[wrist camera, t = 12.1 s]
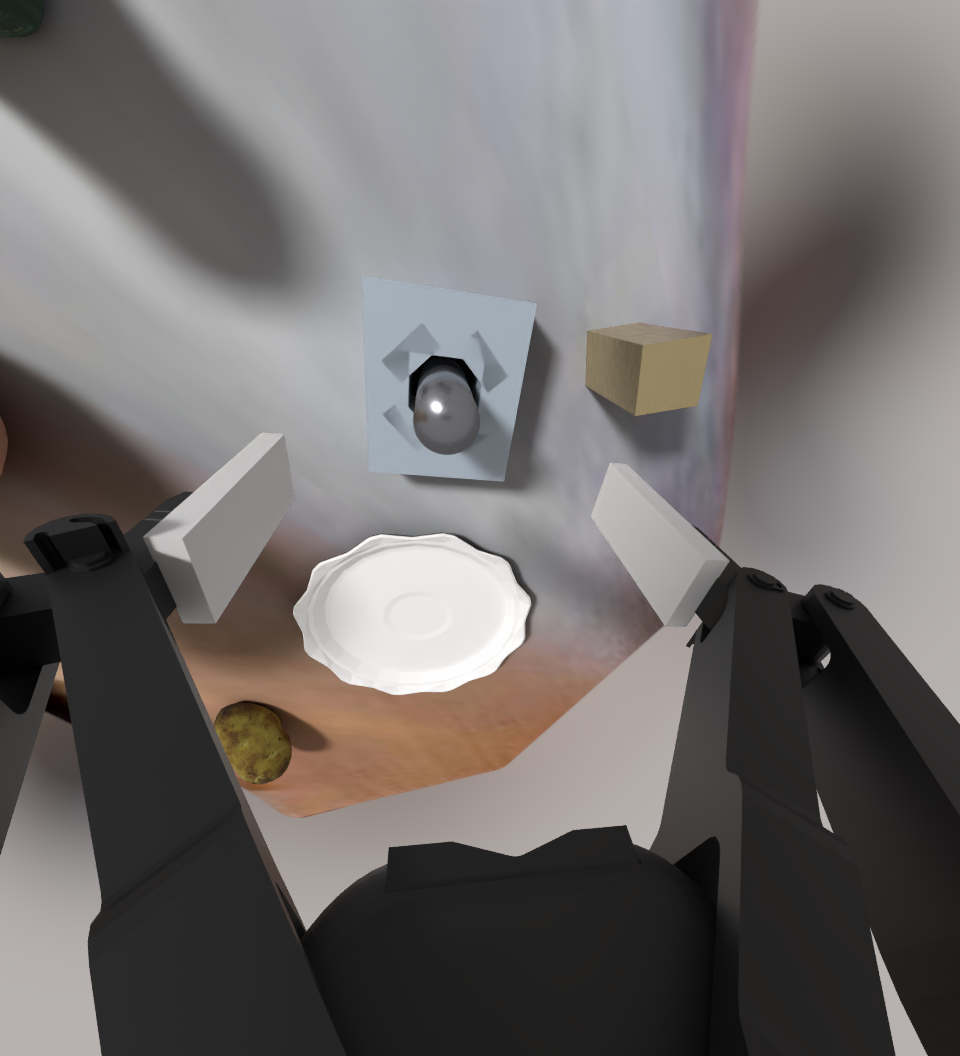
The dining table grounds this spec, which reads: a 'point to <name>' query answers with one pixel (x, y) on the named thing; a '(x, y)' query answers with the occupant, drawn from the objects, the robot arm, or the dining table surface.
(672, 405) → the square bit
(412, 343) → the bore block
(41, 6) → the coffee jar
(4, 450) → the vase
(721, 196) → the dining table surface
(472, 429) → the round bit
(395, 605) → the plate
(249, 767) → the potato
